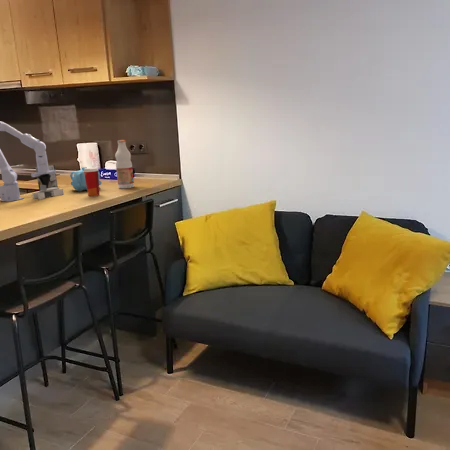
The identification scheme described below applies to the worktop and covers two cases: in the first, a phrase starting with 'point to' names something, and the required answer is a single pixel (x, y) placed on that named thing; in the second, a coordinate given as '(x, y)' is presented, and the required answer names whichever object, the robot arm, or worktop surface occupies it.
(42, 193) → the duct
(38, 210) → the worktop surface
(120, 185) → the fruit juice
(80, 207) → the worktop surface
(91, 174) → the coffee cup
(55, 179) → the coffee box
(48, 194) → the gray block
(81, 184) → the decorative pot
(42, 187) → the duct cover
